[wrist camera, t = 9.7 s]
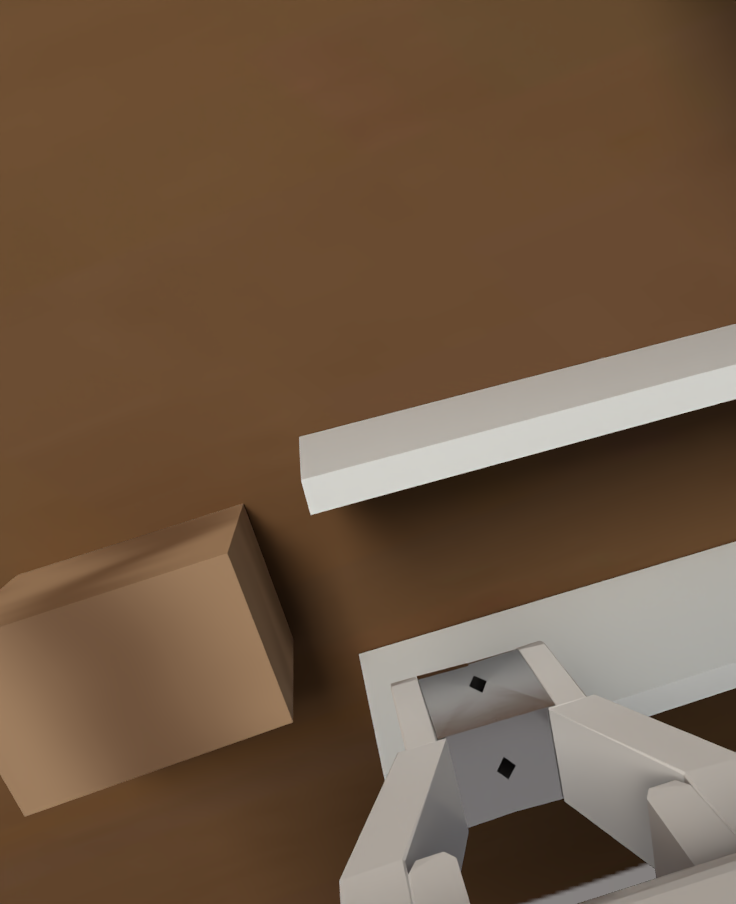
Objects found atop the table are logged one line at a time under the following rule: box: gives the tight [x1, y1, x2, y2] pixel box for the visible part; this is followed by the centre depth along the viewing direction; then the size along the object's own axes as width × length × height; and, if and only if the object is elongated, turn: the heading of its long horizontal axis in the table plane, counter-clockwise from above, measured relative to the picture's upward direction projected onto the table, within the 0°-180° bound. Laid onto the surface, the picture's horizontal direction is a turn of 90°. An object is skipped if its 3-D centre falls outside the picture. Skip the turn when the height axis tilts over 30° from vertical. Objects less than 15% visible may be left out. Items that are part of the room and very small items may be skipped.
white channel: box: [299, 324, 736, 779], centre depth 15 cm, size 20×9×5 cm, turn 104°
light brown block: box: [0, 504, 294, 816], centre depth 14 cm, size 7×5×4 cm
